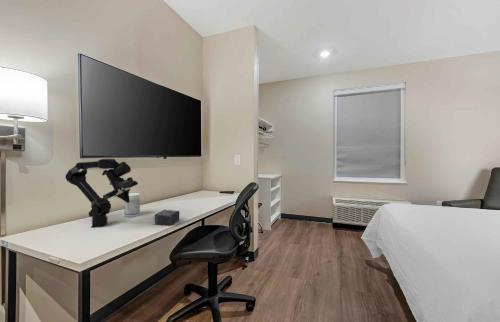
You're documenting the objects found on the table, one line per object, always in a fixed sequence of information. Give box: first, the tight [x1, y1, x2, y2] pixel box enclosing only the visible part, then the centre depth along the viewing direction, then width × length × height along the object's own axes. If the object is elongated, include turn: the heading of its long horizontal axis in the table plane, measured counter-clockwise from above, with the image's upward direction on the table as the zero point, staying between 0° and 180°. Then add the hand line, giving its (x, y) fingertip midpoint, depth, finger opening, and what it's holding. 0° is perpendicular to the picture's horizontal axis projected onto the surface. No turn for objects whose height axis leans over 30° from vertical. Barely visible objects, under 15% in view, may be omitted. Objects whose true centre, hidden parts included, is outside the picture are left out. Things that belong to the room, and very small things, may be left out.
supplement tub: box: [123, 192, 141, 218], centre depth 140 cm, size 10×10×15 cm
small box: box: [154, 209, 180, 226], centre depth 126 cm, size 11×6×10 cm
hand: (128, 202), depth 120 cm, fingers closed
